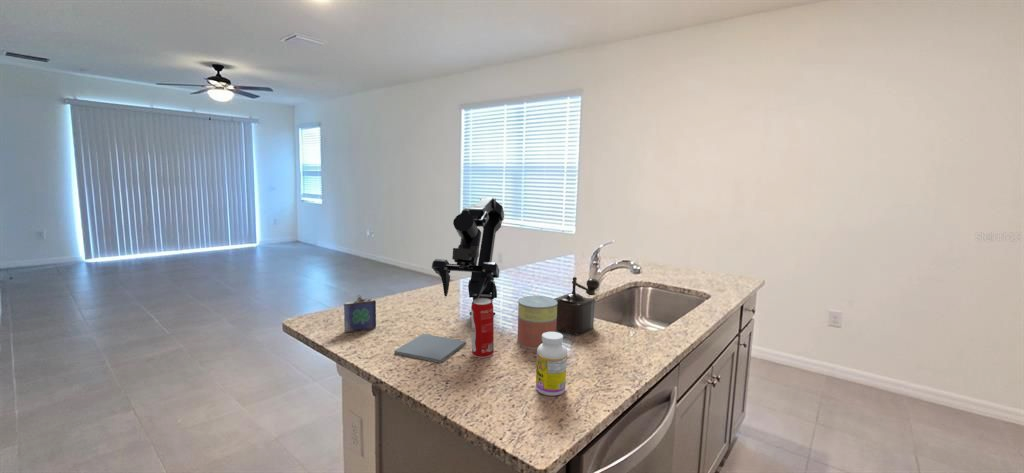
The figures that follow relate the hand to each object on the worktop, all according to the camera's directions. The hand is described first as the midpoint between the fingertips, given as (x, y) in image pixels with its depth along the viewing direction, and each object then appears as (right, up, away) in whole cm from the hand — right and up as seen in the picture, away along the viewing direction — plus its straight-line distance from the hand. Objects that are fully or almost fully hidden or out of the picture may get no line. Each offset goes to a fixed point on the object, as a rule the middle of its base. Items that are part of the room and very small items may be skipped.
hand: (461, 297), depth 125 cm
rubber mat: (-8, -14, -3) cm, 16 cm away
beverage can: (+6, -15, -6) cm, 17 cm away
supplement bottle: (+23, -18, -24) cm, 38 cm away
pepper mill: (+35, -13, +15) cm, 40 cm away
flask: (-32, -11, +10) cm, 35 cm away
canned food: (+21, -14, +5) cm, 26 cm away
